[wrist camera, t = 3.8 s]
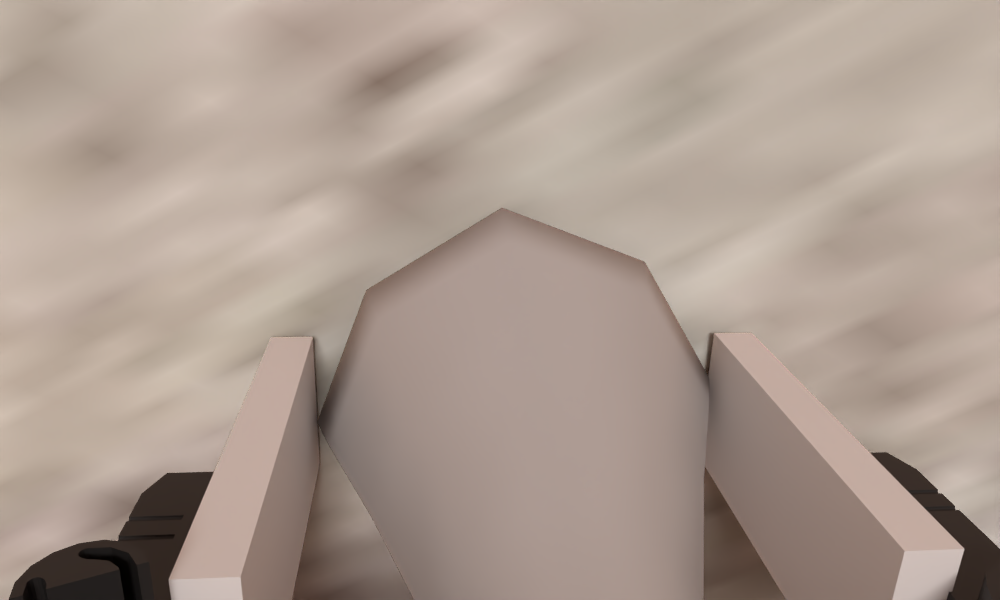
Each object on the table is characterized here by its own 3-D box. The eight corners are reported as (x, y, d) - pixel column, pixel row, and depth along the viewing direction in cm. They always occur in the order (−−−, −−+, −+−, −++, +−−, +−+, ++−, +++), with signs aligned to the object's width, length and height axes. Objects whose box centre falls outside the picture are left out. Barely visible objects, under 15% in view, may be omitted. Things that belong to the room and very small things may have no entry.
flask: (529, 598, 18) (654, 1270, 8) (252, 422, 15) (4, 1066, 6) (766, 365, 16) (1241, 870, 7) (495, 132, 14) (651, 410, 5)
